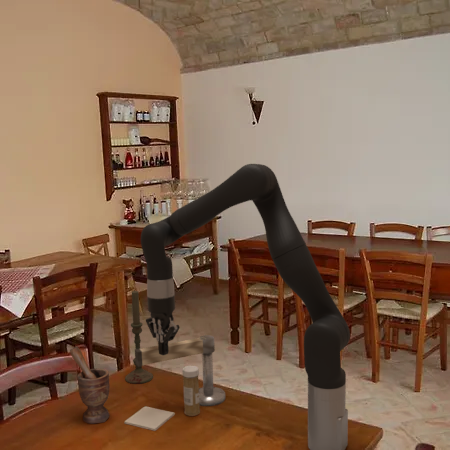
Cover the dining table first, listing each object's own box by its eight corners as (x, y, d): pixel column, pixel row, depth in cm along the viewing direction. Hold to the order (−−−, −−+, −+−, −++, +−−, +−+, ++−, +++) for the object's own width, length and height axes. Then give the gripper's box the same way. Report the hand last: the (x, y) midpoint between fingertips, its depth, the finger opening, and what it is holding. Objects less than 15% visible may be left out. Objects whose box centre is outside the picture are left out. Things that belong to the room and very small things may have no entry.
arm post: (230, 394, 175) (229, 349, 173) (215, 408, 166) (214, 360, 164) (202, 389, 179) (200, 344, 177) (185, 402, 170) (184, 355, 168)
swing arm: (210, 347, 173) (210, 334, 173) (217, 352, 169) (216, 338, 169) (134, 362, 163) (133, 348, 162) (139, 367, 159) (138, 353, 158)
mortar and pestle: (65, 423, 159) (60, 355, 156) (77, 409, 168) (73, 343, 165) (104, 426, 157) (100, 356, 154) (115, 411, 166) (111, 345, 163)
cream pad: (174, 414, 163) (174, 412, 163) (155, 430, 154) (154, 428, 154) (145, 408, 167) (145, 406, 167) (124, 423, 159) (124, 421, 158)
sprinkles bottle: (203, 413, 163) (201, 368, 161) (189, 418, 161) (187, 372, 159) (194, 407, 167) (193, 363, 165) (181, 412, 164) (179, 367, 162)
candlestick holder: (120, 382, 186) (115, 292, 181) (132, 371, 194) (128, 285, 190) (146, 385, 183) (141, 294, 179) (157, 374, 192) (153, 286, 187)
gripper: (186, 295, 157) (189, 356, 159) (157, 287, 166) (160, 345, 168) (164, 300, 151) (167, 363, 154) (135, 292, 161) (138, 352, 163)
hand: (163, 354), depth 161 cm, fingers closed
